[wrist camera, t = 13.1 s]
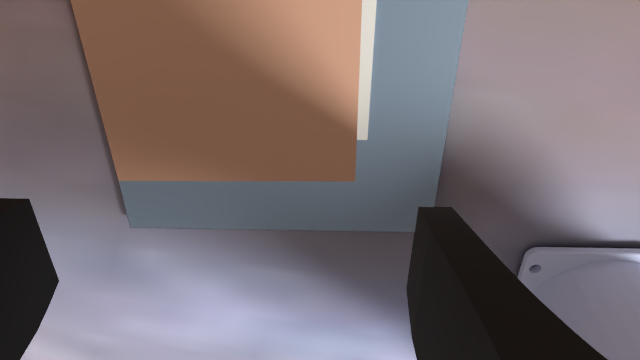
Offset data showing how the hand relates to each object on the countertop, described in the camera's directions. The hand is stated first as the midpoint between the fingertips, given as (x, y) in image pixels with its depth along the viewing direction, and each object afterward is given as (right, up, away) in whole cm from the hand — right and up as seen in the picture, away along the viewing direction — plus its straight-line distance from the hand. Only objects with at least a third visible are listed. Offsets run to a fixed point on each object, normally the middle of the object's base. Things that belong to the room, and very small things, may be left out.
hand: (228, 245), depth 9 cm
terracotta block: (0, +5, +3) cm, 6 cm away
